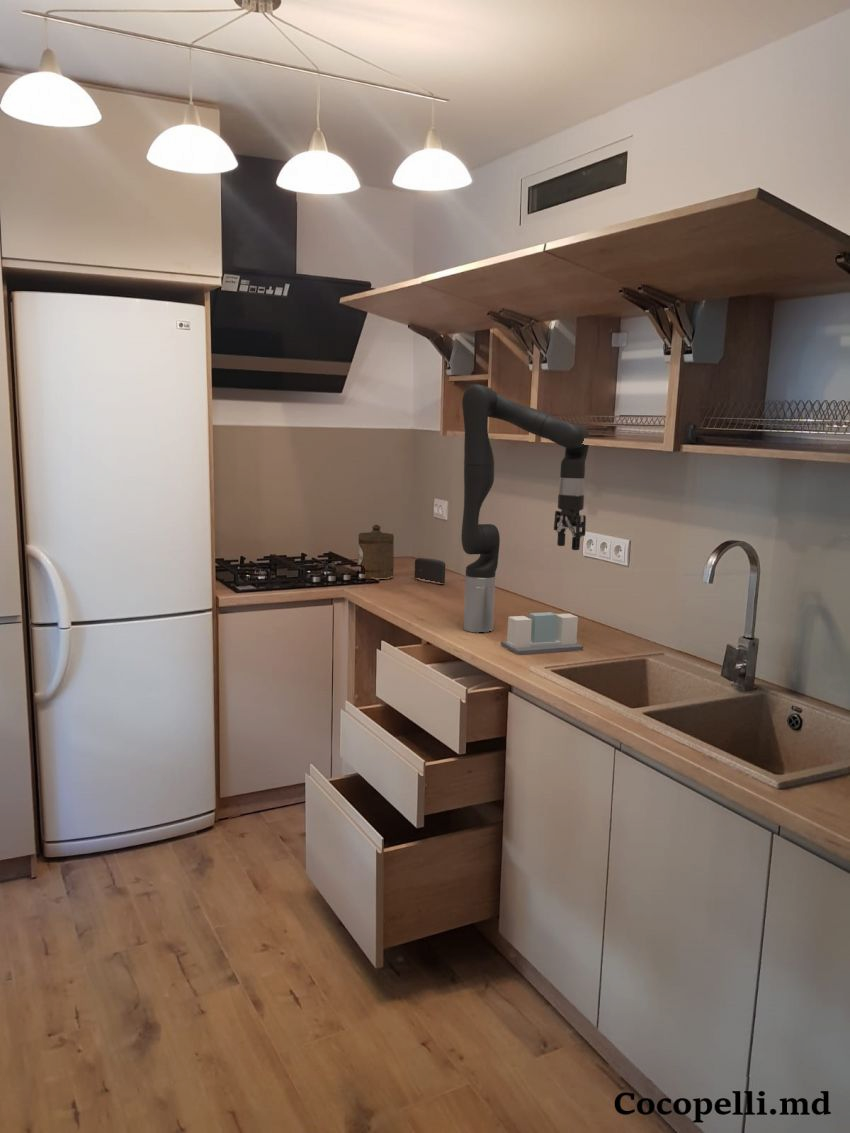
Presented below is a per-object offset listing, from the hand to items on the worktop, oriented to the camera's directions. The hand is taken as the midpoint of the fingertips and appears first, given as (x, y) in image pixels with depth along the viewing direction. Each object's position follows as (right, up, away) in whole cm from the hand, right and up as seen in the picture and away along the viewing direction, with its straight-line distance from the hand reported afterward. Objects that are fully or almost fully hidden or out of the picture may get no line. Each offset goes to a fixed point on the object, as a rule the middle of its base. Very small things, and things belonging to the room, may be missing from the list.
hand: (568, 547), depth 251 cm
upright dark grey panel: (-41, -12, +93) cm, 102 cm away
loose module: (-9, -27, -6) cm, 29 cm away
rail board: (-9, -29, -6) cm, 31 cm away
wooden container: (-63, -10, +101) cm, 120 cm away
